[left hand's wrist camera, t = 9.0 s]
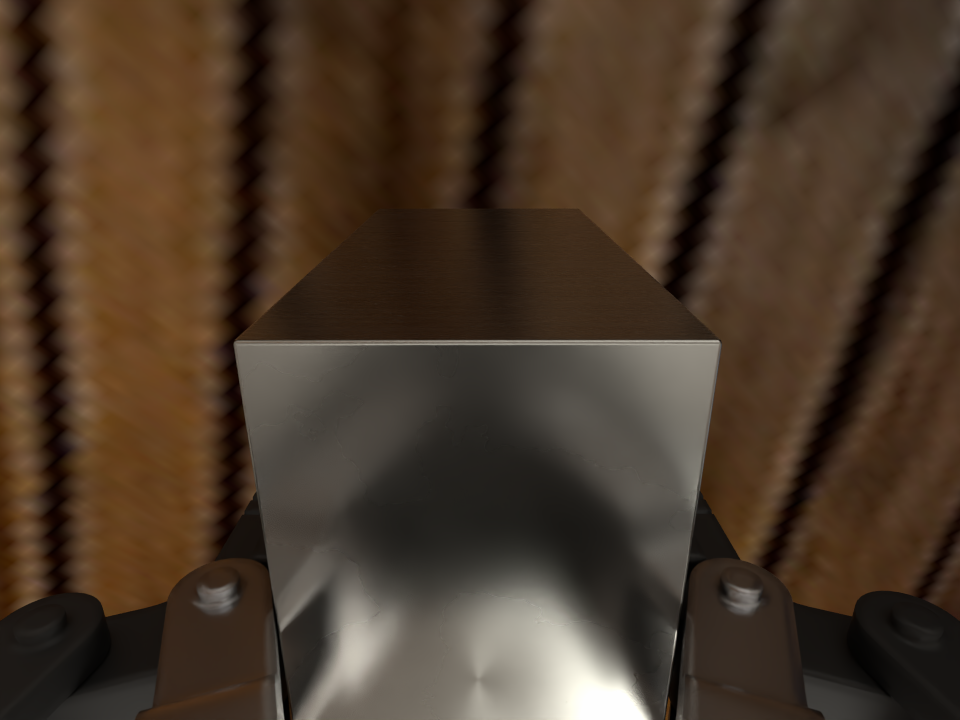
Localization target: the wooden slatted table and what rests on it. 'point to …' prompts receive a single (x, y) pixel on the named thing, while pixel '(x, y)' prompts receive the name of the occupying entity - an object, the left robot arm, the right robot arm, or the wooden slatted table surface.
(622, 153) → the wooden slatted table surface
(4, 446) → the wooden slatted table surface
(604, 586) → the block
